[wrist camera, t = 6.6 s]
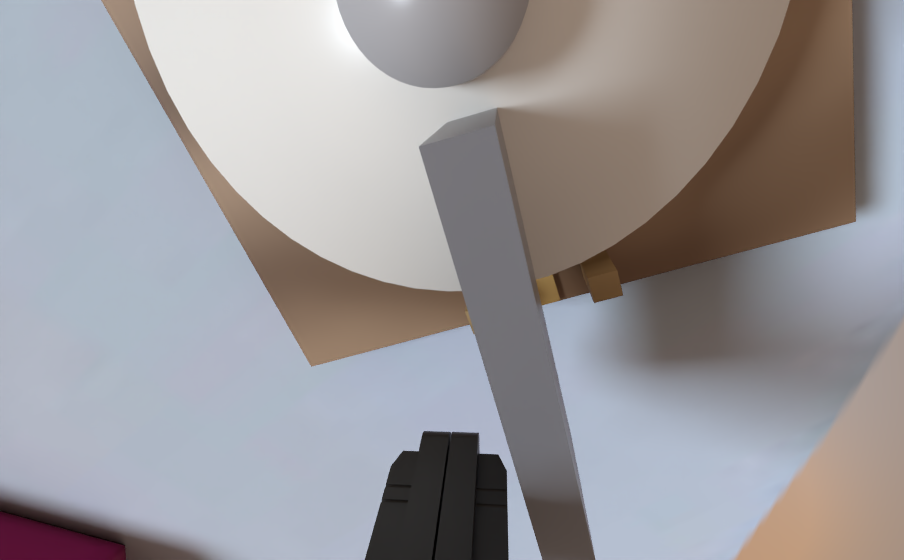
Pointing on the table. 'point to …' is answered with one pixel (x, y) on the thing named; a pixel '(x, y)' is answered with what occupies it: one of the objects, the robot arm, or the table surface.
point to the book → (51, 542)
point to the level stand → (634, 257)
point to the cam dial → (468, 154)
